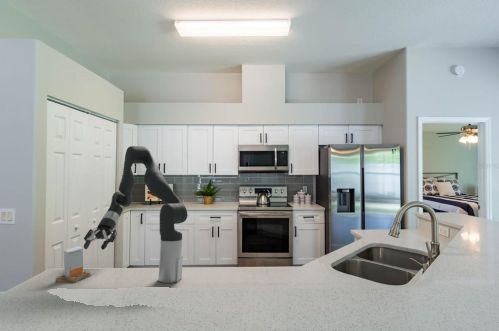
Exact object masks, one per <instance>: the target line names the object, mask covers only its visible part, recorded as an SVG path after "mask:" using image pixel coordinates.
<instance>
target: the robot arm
mask: <svg viewBox="0 0 499 331" xmlns="http://www.w3.org/2000/svg"><path fill="white" fill-rule="evenodd" d="M133 164H136V165H137V164H139V165H140V164H141V165H144V167H145V172H144V176H143V182H144V184H145V186H146V188H147V189H148V191H149V192H150V193H151V194H152V195H153V196H154V197H156V198H158V199H159V200H161V201H162V202H163V203H164V204H163V205H162V206H161V208H160V210H159V235H160V246H159V248H160V249H159V263H158V264H159V265H158V282H160V283H164V284H165V283H167V284H168V283H169V284H170V283H178V282H179V281H180V280H181V279H182V277H183V258H184V257H183V255H182V247H183V233H182V232H181V231H177V230H176V229H175V225H178V224H182V223H184V222H186V221H187V220H188V210H187V208H186V206H185V205H184V203H183V201H181V199H180V198H179V197H178V195H176V193H175V192H174V190H173V189H172V187H171V186H170V185H169V183H168V181H167V180H166V178H165V176H164V174H163V173H162V172H161V171H160V168H159V167H158V165H157V164H156V162H155V160H154V158H153V155H152V154H151V151H150V150H149V148H147V147H146V146H143V145H142V146H141V145H140V146H139V145H131V146H128V147H127V149H126V151H125V155H124V162H123V169H122V177H121V180H120V183H119V186H118V191H116V192H114V193H113V194H112V197H111V201H110V205H109V207H108V209H107V211H106V212H105V213H104V215H103V216H102V218H101V219H100V221H99V223H98V224H97V228H96V229H95V230H93V229H91V228H90V229H89V230H88V231H87V233H86V235H85V236H84V237H83V239H84V241H85V243H84V245H83V249H84V250H88V248H89V247H90V245H91V243H92V242H94V241H97V240H104V241H103V242H102V244H101V246H100V249H101V250H105V249H106V248H107V246H108V245H109V244H110V243H114V242H115V239H116V237H117V235H118V232H117V230H116V229H115V228H116V226H117V224H118V222H119V219H120V217H121V215H122V213H123V211H124V209H123V208H125V207H126V208H127V207H129V206H131V204H132V202H133V189H134V186H135V182H136V177H135V175H134V173H133V170H132V169H133V168H132V167H133ZM109 236H110V237H109Z"/></svg>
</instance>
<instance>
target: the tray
mask: <svg viewBox="0 0 499 331" xmlns="http://www.w3.org/2000/svg"><path fill="white" fill-rule="evenodd" d="M91 273H92V272H91V271H83V275H80V276H77V277H65V273H64V274H61V275H58V276H56V277H55V283H70V284H76V283H77V284H78V283H79V282H81V281H83V280H85V279H87V278H89V277H91Z"/></svg>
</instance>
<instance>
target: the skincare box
mask: <svg viewBox="0 0 499 331" xmlns="http://www.w3.org/2000/svg"><path fill="white" fill-rule="evenodd" d="M63 265H64V270H63V271H64V274H65V277H77V276H80V275H83V272H84V247H83V248H82V247H81V246H79V245H78V246H74V247H71V248H68V249H67V248H66V249H63Z"/></svg>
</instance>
